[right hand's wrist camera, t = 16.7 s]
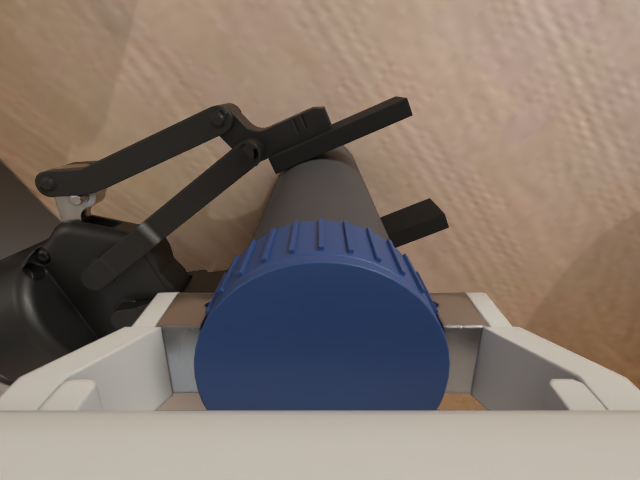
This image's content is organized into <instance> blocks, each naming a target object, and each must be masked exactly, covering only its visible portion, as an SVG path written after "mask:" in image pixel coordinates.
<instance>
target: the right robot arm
mask: <svg viewBox="0 0 640 480" xmlns="http://www.w3.org/2000/svg"><path fill="white" fill-rule="evenodd" d="M429 294H430V296H431V298H432V300H433V302H434V304H435V306H436V308H437V310H438V312H439V313H437V314H435V315H436V317H437V319H438V321H439V323H440V325H441V327H442V330H443V332H444V334H445V337H446V341H447V345H448V348H449V358H450V369H449V379H448V383H447V387H446V391H445V393H471V395H472V396H473V397H474V398H475V399H476V400H477V401H478V402H480V403H481V404H482V405H483V406H484V407H485V408H487V409H488V410H156V409H157V408H159V407H160V406H161V405H162V404H163V403H164V402H166V401H167V400H168V399H169V398H170V397H171V396H172V395H173V394H172V393H199V392H198V389H197V385H196V381H195V376H194V354H195V347H196V343H197V340H198V336H199V333H200V331H201V329H202V327H203V325H204V322H205V320H206V318H207V316H208V315H207V314H205V311H206V309H207V307H208V305H209V303H210V301H211V299H212V297H213V295H214V293H179V292H165V293H158V294H157V295H156V296H155V297H154V299H153V300H152V301H151V302H150V304H149V305H148V306H147V307H146V309H145V310H144V311H143V313H142V314H141V315H140V316H139V318H138V319H137V320H136V321H135V323H134V324H133V325H132V327H124V328H122V329H119V330H117V331H115V332H113V333H111V334H109V335H107V336H105V337H103V338H101V339H98V340H96V341H94V342H92V343H90V344H88V345H86V346H84V347H82V348H80V349H77V350H75V351H73V352H71V353H69V354H67V355H65V356H63V357H61V358H59V359H56V360H54V361H52V362H50V363H48V364H46V365H44V366H42V367H40V368H38V369H35V370H33V371H31V372H29V373H27V374H25V375H23V376H21V377H19V378H18V379H17V380H16V381H15V382H14V383H13V384H12V385H11V386H10V387H9V388H8V389H7V390H5V391H4V392H3V393H2V394H1V395H0V480H640V390H639V389H638V388H637V387H636V386H635V385H634V384H633V383H632V382H631V381H629V380H628V379H627V378H626V377H624V376H622V375H620V374H618V373H615V372H613V371H611V370H609V369H607V368H605V367H603V366H601V365H599V364H596V363H594V362H592V361H590V360H588V359H586V358H584V357H582V356H580V355H577V354H575V353H573V352H571V351H569V350H567V349H565V348H563V347H561V346H558V345H556V344H554V343H552V342H550V341H548V340H546V339H544V338H542V337H539V336H537V335H535V334H533V333H531V332H529V331H527V330H525V329H523V328H520V327H512V325H511V324H510V323H509V322H508V320H507V319H506V318H505V317H504V315H503V314H502V313H501V312H500V310H499V309H498V308H497V307H496V305H495V304H494V303H493V302H492V301H491V299H490V298H489V297H488V296H487V294H486V293H483V292H472V293H429Z"/></svg>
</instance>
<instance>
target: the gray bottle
mask: <svg viewBox="0 0 640 480" xmlns="http://www.w3.org/2000/svg"><path fill="white" fill-rule="evenodd" d="M319 218H323V220H327V221H338V222H343V221H344V220H346V221H348V223H349V224H353V225H356V226H359V227H362V228H365V229H367V227H368V228H371V229H372V232H373V233H375V234H377V235H379V236H380V237H382V238H383V239H385V240H386V241H387V239H389V237H388V235H387V232H386V230H385V228H384V226H383V223H382V221H381V219H380V217H379V214H378V212H377V210H376V208H375V205H374V203H373V201H372V199H371V196H370V194H369V192H368V190H367V187H366V185H365V183H364V181H363V178H362V176H361V174H360V172H359V169H358V167H357V165H356V163H355V160H354V158H353V157H352V155H351V153H350V152H349V151H348V150H347V149H346V148H345V147H344V146H343V145H342V146H340V147H337V148H335V149H333V150H330V151H328V152H326V153H323V154H321V155H319V156H317V157H314V158H312V159H310V160H307V161H305V162H303V163H300V164H298V165H296V166H293V167H291V168H289V169H286V170H284V171H282V172H281V173H280V176H279V178H278V180H277V183H276V185H275V187H274V190H273V192H272V194H271V197H270V199H269V201H268V204H267V206H266V208H265V211H264V213H263V215H262V218H261V220H260V222H259V225H258V227H257V229H256V232H255V234H254V236H253V239H254V240H255V241H257V240H258V239H260V238H261V237H263V236H264V235H266V234H268V233H270V230H271V229H272V228H275V229H278V228H281V227H284V226H287V225H291V224H294V221H297V220H298V221H299V222H305V221H316V220H319ZM253 239H252V240H253Z"/></svg>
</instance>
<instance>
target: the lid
mask: <svg viewBox="0 0 640 480" xmlns="http://www.w3.org/2000/svg"><path fill="white" fill-rule="evenodd" d="M437 313H439V312H438V310H437V308H436V306H435V304H434V302H433V300H432V298H431V296H430V294H429V292H428V291H427V289H426V287H425V285H424V283H423V281H422V279H421V277H420V275H419V273H418V272H415V270H414V268H413V266H412V264H411V262H410V260H409V258H408V256H407V255H406V254H404V255H402V254H401V253H400V252H399V251H398V250H397V249H396V248H395V247H394V245H393V243H392V241H391V240H390V239H387V241H386V240H385V239H383V238H382V237H380V236H379V235H377V234H375V233H373V232H372V229H371V228H368V227H367V229H365V228H362V227H359V226H356V225H353V224H349V223H348V221H346V220H344V221H343V222H338V221H327V220H323V218H319V220H316V221H305V222H299V221H298V220H297V221H294V224H291V225H287V226H284V227H281V228H278V229H275V228H272V229H271V230H270V233H268V234H266V235H264V236H263V237H261V238H260V239H258V240H257V241H255V240H254V239H253V240H252V241H251V242H250V244H249V247H248V248H247V249H246V250H245V251H244V252H243V253H242V254H241V255H240V256H239V255H236V256H235V258H234V260H233V262H232V264H231V266H230V268H229V270H228V272H227V273H226V272H225V273H224V275H223V277H222V279H221V281H220V283H219V285H218V287H217V289H216V291H215V293H214V295H213V297H212V299H211V301H210V303H209V305H208V307H207V309H206V311H205V314H207V315H208V316H207V318H206V320H205V322H204V325H203V327H202V329H201V331H200V333H199V336H198V340H197V343H196V347H195V354H194V376H195V381H196V385H197V389H198V392H199V395H200V397H201V400H202V402H203V404H204V406H205V407H206V409H207V410H437V408H438V406H439V405H440V403H441V401H442V398H443V396H444V393H445V391H446V387H447V383H448V379H449V369H450V358H449V348H448V345H447V341H446V337H445V334H444V332H443V330H442V327H441V325H440V323H439V321H438V319H437V317H436V315H435V314H437Z"/></svg>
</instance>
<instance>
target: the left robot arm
mask: <svg viewBox="0 0 640 480" xmlns="http://www.w3.org/2000/svg"><path fill="white" fill-rule="evenodd" d="M410 116H412V112H411V109H410V106H409V102H408V99H407V98H403V97H393V98H391V99H389V100H387V101H384V102H382V103H380V104H377V105H375V106H373V107H371V108H368V109H366V110H364V111H362V112H359V113H357V114H355V115H352V116H350V117H348V118H346V119H343V120H341V121H339V122H336V123H334V124H331V122H330V119H329V117H328V114H327V112H326V109H325V107H312V108H310V109H307V110H305V111H303V112H301V113H298V114H296V115H294V116H292V117H290V118H287V119H285V120H283V121H281V122H278V123H276V124H274V125H272V126H270V127H266V128H259V127H256V126H254V125H253V124H252V123H250V121H249V120H248V119H247V118H246V117H245V116H244V115H243V114H242V113H241V110H240V109H239V108H238V107H237V106H236V105H234V104H231V103H227V104H222V105H217V106H213V107H210V108H208V109H206V110H204V111H202V112H200V113H197V114H195V115H193V116H191V117H189V118H187V119H185V120H183V121H181V122H179V123H177V124H174V125H172V126H170V127H168V128H166V129H164V130H162V131H160V132H158V133H156V134H154V135H151V136H149V137H147V138H145V139H143V140H141V141H139V142H137V143H135V144H133V145H131V146H128V147H126V148H124V149H122V150H120V151H118V152H116V153H114V154H112V155H110V156H108V157H105V158H103V159H101V160H99V161H86V162H74V163H70V164H67V165H64V166H60V167H57V168H54V169H51V170H48V171H45V172H41V173H39V174H38V175H37V176H36V179H35V184H36V187H37V189H38V190H39V191H40V192H41V193H42V194H43V195H45V196H48V197H54V198H55V201H56V204H57V207H58V210H59V213H60V217H61V220H62V223H60V224H59V225H58V226H57V227H56V228H55V229H54V231H53V233H52V235H51V236H50V238H49V239H47V240H45V241H42V242H40V243H38V244H36V245H33V246H31V247H29V248H27V249H24V250H22V251H20V252H18V253H15V254H13V255H11V256H9V257H6V258H4V259H2V260H0V395H1V394H2V393H3V392H4V391H5V390H7V389H8V388H9V387H10V386H11V385H12V384H13V383H14V382H15V381H16V380H17V379H18V378H19V377H21V376H23V375H25V374H27V373H29V372H31V371H33V370H35V369H38V368H40V367H42V366H44V365H46V364H48V363H50V362H52V361H54V360H56V359H59V358H61V357H63V356H65V355H67V354H69V353H71V352H73V351H75V350H77V349H80V348H82V347H84V346H86V345H88V344H90V343H92V342H94V341H96V340H98V339H101V338H103V337H105V336H107V335H109V334H111V333H113V332H115V331H117V330H119V329H122V328H124V327H132V325H133V324H134V323H135V321H136V320H137V319H138V318H139V316H140V315H141V314H142V313H143V311H144V310H145V309H146V307H147V306H148V305H149V304H150V302H151V301H152V300H153V299H154V297H155V296H156V295H157V294H158V293H165V292H179V293H215V291H216V289H217V287H218V285H219V283H220V281H221V279H222V277H223V275H224V273H225V272H226V273H227V272H228V270H223V271H216V272H207V271H206V270H199V271H192V272H186V270H185V268H184V267H183V266H182V265H181V264H180V263H179V262H178V261H177V260H176V259H175V258H174V256H173V253H172V250H171V246H170V244H169V242H168V241H167V239H166V236H168V235H169V234H170V233H171V232H173V231H174V230H175V229H177V228H178V227H179V226H180V225H182V224H183V223H184V222H185V221H187V220H188V219H189V218H190V217H192V216H193V215H194V214H195V213H197V212H198V211H199V210H200V209H202V208H203V207H204V206H205V205H207V204H208V203H209V202H211V201H212V200H213V199H214V198H216V197H217V196H218V195H219V194H221V193H222V192H223V191H224V190H226V189H227V188H228V187H229V186H231V185H232V184H233V183H234V182H236V181H237V180H238V179H239V178H241V177H242V176H243V175H245V174H246V173H247V172H248V171H250V170H251V169H252V168H253V167H255V166H257V165H258V164H259V162H261V161H263V160H265V159H267V158H269V160H270V163H271V165H272V167H273V169H274V171H275V173H276V174H277V173H279V172H282V171H284V170H286V169H289V168H291V167H293V166H296V165H298V164H300V163H303V162H305V161H307V160H310V159H312V158H314V157H317V156H319V155H321V154H323V153H326V152H328V151H330V150H333V149H335V148H337V147H340V146H342V145H344V144H347V143H349V142H351V141H354V140H356V139H358V138H361V137H363V136H365V135H368V134H370V133H372V132H375V131H377V130H379V129H382V128H384V127H386V126H389V125H391V124H393V123H396V122H398V121H400V120H403V119H405V118H407V117H410ZM218 136H220V137H221V138H222V139H223V140H224V141H225V142H226V143H227V144H228V145H229V146H230V147H231V148H232V150H230V151H229V152H228V153H227V154H226V155H224V156H223V157H222V158H221V159H219V160H218V161H217V162H216V163H215V164H213V165H212V166H211V167H210V168H208V169H207V170H206V171H205V172H204V173H202V174H201V175H200V176H199V177H198V178H196V179H195V180H194V181H193V182H191V183H190V184H189V185H188V186H187V187H185V188H184V189H183V190H182V191H180V192H179V193H178V194H177V195H176V196H174V197H173V198H172V199H171V200H170V201H168V202H167V203H166V204H165V205H163V206H162V207H161V208H160V209H159V210H157V211H156V212H155V213H154V214H152V215H151V216H150V217H149V218H148V219H146V220H145V221H144V222H143V223H141V224H140V225H139V224H134V223H129V222H125V221H120V220H115V219H110V218H105V217H101V216H96V215H91V207H92V206H93V205H95V204H97V203H99V202H101V201H102V200H103V199H104V198H105V192H106V188H108V187H110V186H112V185H114V184H116V183H118V182H121V181H123V180H125V179H127V178H129V177H131V176H134V175H136V174H138V173H140V172H142V171H144V170H146V169H149V168H151V167H153V166H155V165H157V164H159V163H162V162H164V161H166V160H168V159H170V158H172V157H174V156H177V155H179V154H181V153H183V152H185V151H187V150H190V149H192V148H194V147H196V146H198V145H200V144H202V143H205V142H207V141H209V140H211V139H213V138H215V137H218ZM380 219H381V221H382V223H383V226H384V228H385V230H386V232H387V235H388V237H389V239H390V240H391V241H392V243H393V245H394V247H395V248H396V247H399V246H401V245H404V244H407V243H409V242H412V241H415V240H417V239H420V238H423V237H425V236H428V235H430V234H433V233H436V232H438V231H441V230H444V229H446V228H449V226H448V223H447V220H446V217H445V214H444V213H443V212H442V211H441V210H440V208H439V207H438V206H437V205H436V204H435V203H434V202H433V201H432V200H431V199H430V198H429V199H427V200H424V201H421V202H419V203H416V204H414V205H411V206H409V207H406V208H404V209H401V210H399V211H396V212H394V213H391V214H388V215H386V216H383V217H381V218H380Z"/></svg>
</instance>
